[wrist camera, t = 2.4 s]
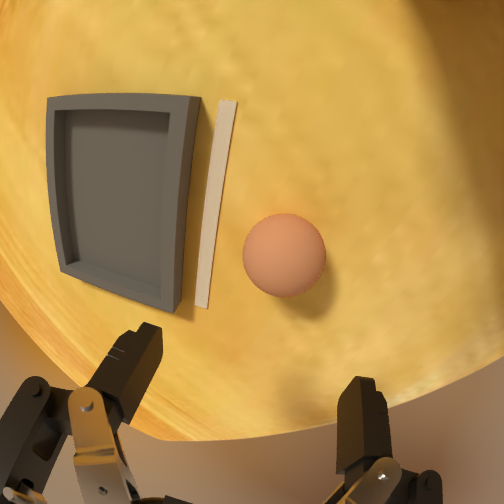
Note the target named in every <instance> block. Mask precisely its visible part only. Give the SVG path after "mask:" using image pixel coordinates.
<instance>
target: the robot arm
mask: <svg viewBox="0 0 504 504" xmlns="http://www.w3.org/2000/svg"><path fill="white" fill-rule="evenodd" d="M162 355H163V339H162V328H161V327H158V326H155V325H152V324H149V323H146V322H143V323H142V324H141V326H140V327H139V329H138V330H137V332H133V331H131V330H128V331H127V332H125V333H124V334H122V335H121V336H119V338H118V339H117V340H116V342H115V343H114V345H113V347H112V348H111V349H110V351H109V352H108V355H107V356H106V357H105V358H104V360H103V361H102V363H101V364H100V366H99V367H98V369H97V370H96V372H95V373H94V375H93V376H92V378H91V380H90V381H89V382H88V384H87V385H85V386H84V387H80V388H77V389H76V390H65V389H60V388H55V387H50V386H49V384H48V382H47V381H46V380H45V379H43V378H42V377H38V376H32V377H29V378H27V379H26V380H25V381H24V382H23V383H22V385H21V386H20V388H19V390H18V391H17V393H16V394H15V396H14V397H13V399H12V401H11V402H10V404H9V406H8V407H7V409H6V411H5V413H4V415H3V416H2V418H1V420H0V504H47V502H46V500H45V498H44V497H43V495H42V492H43V490H44V488H45V485H46V483H47V480H48V478H49V475H50V473H51V471H52V468H53V466H54V464H55V461H56V459H57V457H58V455H59V453H60V450H61V448H62V446H63V444H64V442H65V440H66V438H67V436H68V435H72V436H73V440H74V445H75V450H76V453H75V455H74V457H73V460H74V466H75V471H76V474H77V478H78V482H79V485H80V489H81V493H82V496H83V499H84V502H85V504H192V503H189V502H185V501H182V500H179V499H176V498H173V497H170V496H167V495H166V496H165V498H159V497H158V498H157V497H151V498H141V495H140V492H139V490H138V487H137V485H136V482H135V480H134V478H133V475H132V473H131V471H130V469H129V466H128V463H127V460H126V457H125V454H124V450H123V447H122V444H121V440H120V437H119V433H118V428H119V426H120V424H121V422H124V423H126V424H128V425H129V424H130V422H131V420H132V418H133V416H134V414H135V412H136V410H137V408H138V406H139V404H140V402H141V400H142V398H143V396H144V394H145V392H146V390H147V388H148V386H149V384H150V382H151V380H152V378H153V376H154V374H155V372H156V370H157V368H158V366H159V364H160V362H161V359H162ZM387 414H388V409H387V402H386V400H385V398H384V396H383V394H382V392H379V391H376V386H375V381H374V379H373V378H368V377H361V376H355V377H354V378H353V380H352V381H351V382H350V384H349V385H348V386H347V388H346V389H345V390H344V392H343V393H342V394H341V396H340V398H339V401H338V406H337V461H336V474H345V480H344V481H343V482H342V483H341V484H340V485H339V486H338V487H337V488H336V490H334V492H332V493H331V495H330V496H329V497H328V498H327V499H326V500H325V501H324V502H323V503H322V504H443V497H442V496H443V494H442V480H441V477H440V475H439V474H438V473H437V472H436V471H434V470H427V471H424V472H422V473H421V474H418V473H414V472H411V471H407V470H404V469H402V468H401V467H400V464H399V463H398V462H397V461H396V460H394V459H393V456H392V447H391V436H390V426H389V417H388V415H387Z"/></svg>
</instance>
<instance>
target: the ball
mask: <svg viewBox="0 0 504 504" xmlns="http://www.w3.org/2000/svg"><path fill="white" fill-rule="evenodd" d="M325 259H326V251H325V245H324V242H323V239H322V237H321V235H320V233H319V232H318V231H317V229H316V228H315V227H314V226H313V225H312V224H311V223H310V222H308V221H307V220H305V219H304V218H301V217H299V216H296V215H292V214H277V215H272V216H269V217H267V218H265V219H263V220H262V221H260V222H259V223H258V224H256V225H255V226H254V227H253V229H252V230H251V231H250V233H249V234H248V236H247V238H246V240H245V243H244V247H243V263H244V268H245V271H246V273H247V275H248V277H249V278H250V280H251V281H252V282H253V283H254V285H256V286H257V287H258V288H259V289H260V290H262V291H264V292H265V293H267V294H270V295H273V296H277V297H291V296H295V295H298V294H301V293H303V292H305V291H306V290H308V289H309V288H311V287H312V286H313V285H314V284H315V283H316V282H317V280H318V279H319V277H320V276H321V274H322V271H323V269H324V265H325Z"/></svg>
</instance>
